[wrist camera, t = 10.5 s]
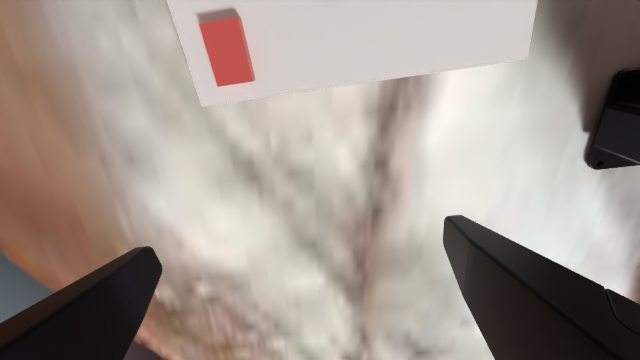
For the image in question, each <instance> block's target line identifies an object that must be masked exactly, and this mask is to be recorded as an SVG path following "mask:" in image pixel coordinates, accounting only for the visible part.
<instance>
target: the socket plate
mask: <svg viewBox="0 0 640 360" xmlns="http://www.w3.org/2000/svg"><path fill="white" fill-rule="evenodd" d="M537 1H538V0H167V3H168V6H169V9H170V12H171V15H172V18H173V21H174V24H175V27H176V30H177V33H178V36H179V39H180V42H181V45H182V48H183V51H184V54H185V57H186V60H187V63H188V66H189V69H190V72H191V75H192V78H193V81H194V84H195V87H196V90H197V93H198V96H199V99H200V103H201V106H202V107H204V106H211V105H218V104H225V103H232V102H239V101H245V100H252V99H259V98H266V97H273V96H279V95H286V94H293V93H300V92H307V91H314V90H320V89H327V88H334V87H341V86H348V85H354V84H361V83H368V82H375V81H382V80H389V79H395V78H402V77H409V76H416V75H423V74H430V73H436V72H443V71H450V70H457V69H464V68H470V67H477V66H484V65H491V64H498V63H505V62H511V61H518V60H525V59H528V53H529V47H530V41H531V36H532V30H533V24H534V18H535V13H536V7H537Z"/></svg>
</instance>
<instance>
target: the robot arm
mask: <svg viewBox="0 0 640 360" xmlns="http://www.w3.org/2000/svg"><path fill="white" fill-rule="evenodd" d="M624 77H626V79H625V80H624V81H623V79H624ZM597 161H598V162H597ZM587 165H588V166H589V167H591V168H593V169H596V170H599V169H608V168H617V167H626V166H635V165H640V68H633V69H626V70H622V71H620V72H618V73H617V74H616V75H615V76H614V78H613V80H612V83H611V86H610V90H609V93H608V96H607V99H606V103H605V106H604V109H603V112H602V116H601V119H600V122H599V125H598V129H597V132H596V135H595V138H594V142H593V145H592V148H591V151H590V154H589V158H588V161H587ZM443 244H444V248H445V250H446V253H447V256H448V258H449V261H450V264H451V266H452V269H453V272H454V274H455V277H456V280H457V282H458V285H459V288H460V290H461V293H462V295H463V297H464V299H465V301H466V304H467V306H468V308H469V309H470V311H471V313H472V315H473V317H474V319H475V321H476V323H477V325H478V327H479V329H480V331H481V333H482V335H483V337H484V339H485V341H486V343H487V345H488V347H489V349H490V351H491V353H492V355H493V357H494V358H495V360H640V304H638V303H636V302H634V301H632V300H630V299H628V298H626V297H624V296H622V295H620V294H618V293H616V292H614V291H612V290H610V289H605V288H604V287H603V286H602V285H600V284H598V283H596V282H594V281H592V280H590V279H588V278H586V277H584V276H582V275H580V274H578V273H576V272H574V271H572V270H570V269H568V268H566V267H564V266H562V265H560V264H558V263H556V262H554V261H552V260H550V259H548V258H546V257H544V256H542V255H540V254H538V253H536V252H534V251H532V250H530V249H528V248H526V247H524V246H522V245H520V244H518V243H516V242H514V241H512V240H510V239H508V238H506V237H504V236H502V235H500V234H498V233H496V232H494V231H492V230H490V229H488V228H486V227H484V226H482V225H480V224H478V223H476V222H474V221H472V220H470V219H468V218H466V217H464V216H462V215H454V216H447V217H446V218H445V220H444V233H443ZM161 274H162V265H161V263H160V261H159V259H158V257H157V255H156V253H155V251H154V250H153V248H151V247H149V246H145V247H137V248H134V249H132V250H131V251H129V252H127V253H125V254H124V255H122V256H120V257H118V258H116V259H115V260H113V261H111V262H109V263H107V264H106V265H104V266H102V267H100V268H98V269H97V270H95V271H93V272H91V273H90V274H88V275H86V276H84V277H82V278H81V279H79V280H77V281H75V282H73V283H72V284H70V285H68V286H66V287H64V288H63V289H61V290H59V291H57V292H56V293H54V294H52V295H50V296H48V297H47V298H45V299H43V300H41V301H39V302H38V303H36V304H34V305H32V306H31V307H29V308H27V309H25V310H23V311H21V312H20V313H18V314H16V315H14V316H13V317H11V318H9V319H7V320H5V321H4V322H2V323H0V360H124V358H125V356H126V354H127V352H128V350H129V348H130V346H131V344H132V342H133V340H134V338H135V336H136V334H137V332H138V330H139V328H140V326H141V323H142V321H143V319H144V317H145V314H146V312H147V309H148V307H149V304H150V302H151V299H152V297H153V294H154V292H155V289H156V287H157V284H158V282H159V279H160V276H161Z"/></svg>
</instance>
